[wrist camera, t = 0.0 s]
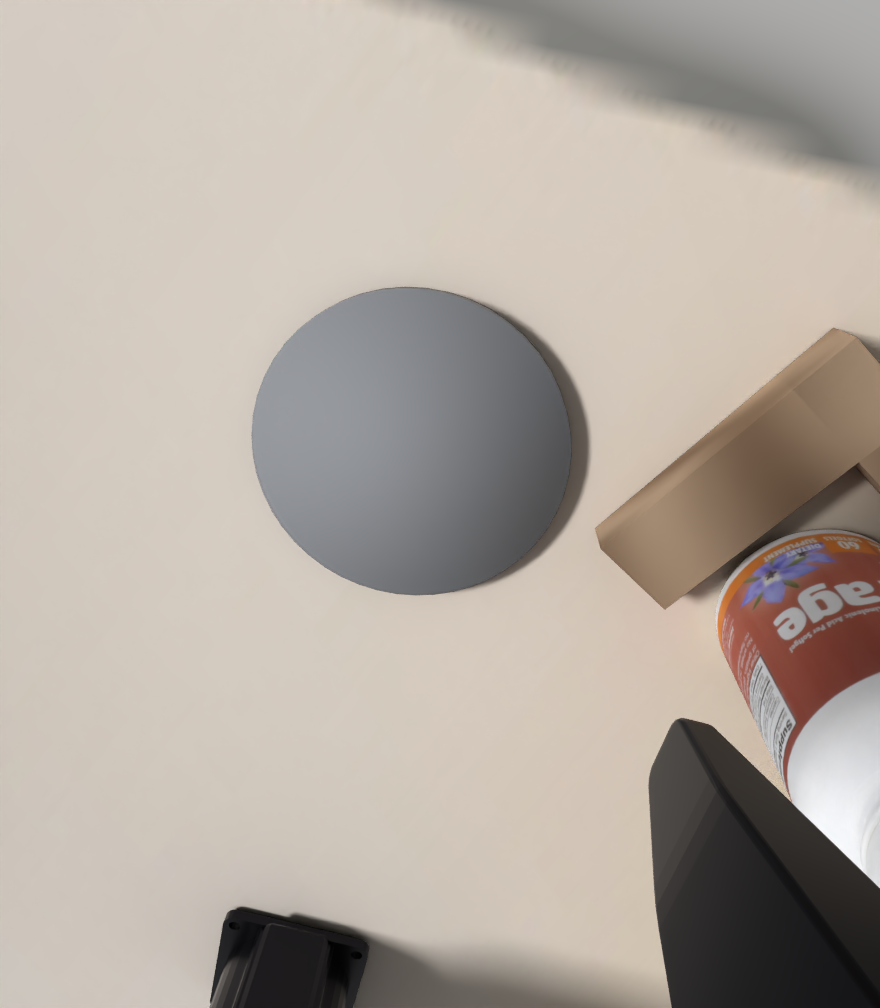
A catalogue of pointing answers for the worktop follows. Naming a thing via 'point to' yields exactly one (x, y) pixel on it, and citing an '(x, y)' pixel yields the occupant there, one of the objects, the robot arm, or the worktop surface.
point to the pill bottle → (814, 675)
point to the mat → (411, 441)
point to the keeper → (752, 470)
